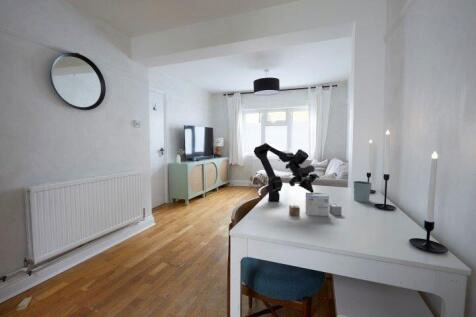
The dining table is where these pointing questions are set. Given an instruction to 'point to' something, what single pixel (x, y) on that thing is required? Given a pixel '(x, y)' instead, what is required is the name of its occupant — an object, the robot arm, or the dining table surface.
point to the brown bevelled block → (294, 210)
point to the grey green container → (362, 191)
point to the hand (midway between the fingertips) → (312, 192)
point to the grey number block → (335, 209)
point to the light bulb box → (317, 204)
